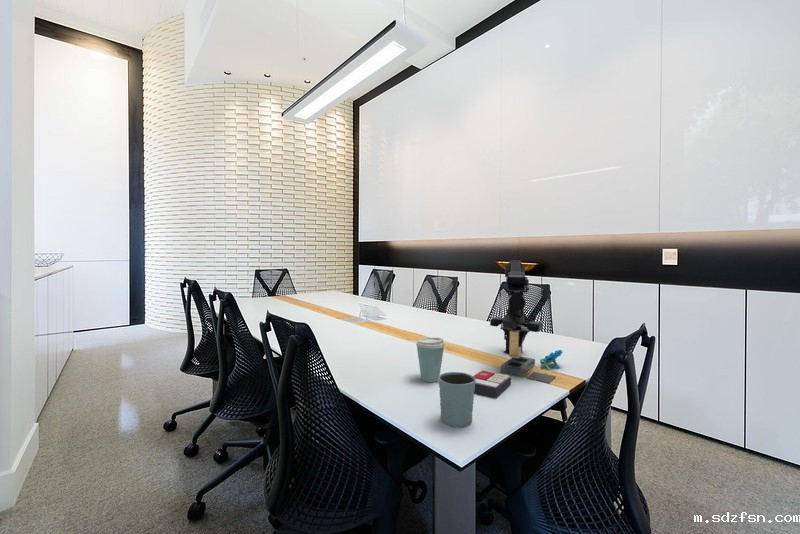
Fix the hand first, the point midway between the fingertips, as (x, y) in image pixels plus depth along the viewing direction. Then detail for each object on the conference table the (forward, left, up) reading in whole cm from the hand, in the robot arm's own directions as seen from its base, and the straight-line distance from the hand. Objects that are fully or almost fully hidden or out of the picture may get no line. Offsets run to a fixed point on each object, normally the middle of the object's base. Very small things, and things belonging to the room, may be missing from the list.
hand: (515, 346), depth 138 cm
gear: (+9, +15, -10) cm, 20 cm away
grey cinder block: (0, +4, -10) cm, 11 cm away
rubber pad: (+10, 0, -10) cm, 14 cm away
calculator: (-2, -21, -11) cm, 24 cm away
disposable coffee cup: (-22, -26, -10) cm, 36 cm away
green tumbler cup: (+1, -48, -10) cm, 50 cm away
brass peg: (0, 0, -4) cm, 4 cm away
